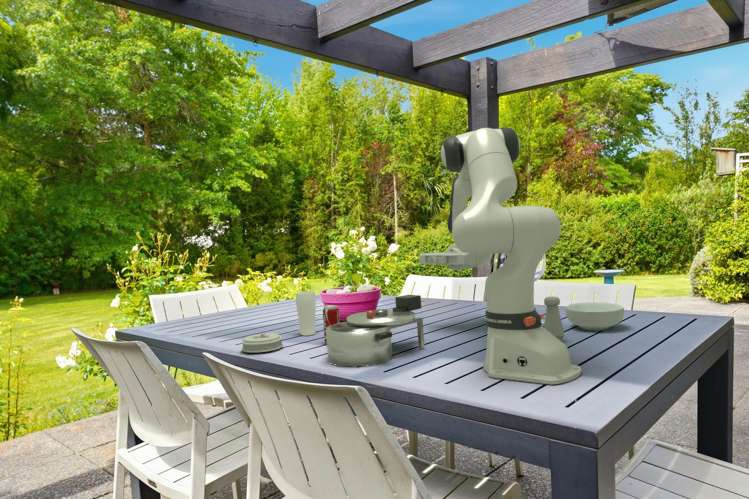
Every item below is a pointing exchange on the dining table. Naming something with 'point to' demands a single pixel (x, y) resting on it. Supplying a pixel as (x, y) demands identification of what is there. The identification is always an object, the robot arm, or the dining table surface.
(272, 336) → the lid
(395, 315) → the cooker lid
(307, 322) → the drinking glass
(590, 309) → the cereal bowl
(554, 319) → the salt shaker
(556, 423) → the dining table surface
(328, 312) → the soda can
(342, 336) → the cooker pot
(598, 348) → the dining table surface
